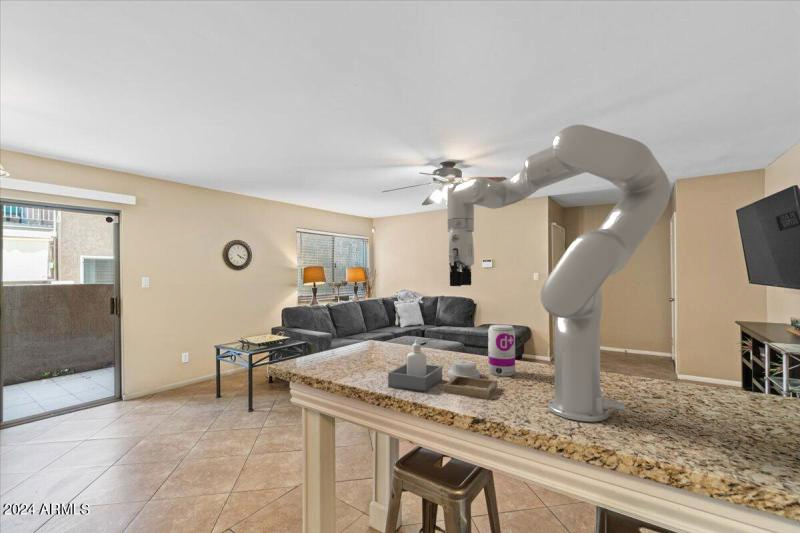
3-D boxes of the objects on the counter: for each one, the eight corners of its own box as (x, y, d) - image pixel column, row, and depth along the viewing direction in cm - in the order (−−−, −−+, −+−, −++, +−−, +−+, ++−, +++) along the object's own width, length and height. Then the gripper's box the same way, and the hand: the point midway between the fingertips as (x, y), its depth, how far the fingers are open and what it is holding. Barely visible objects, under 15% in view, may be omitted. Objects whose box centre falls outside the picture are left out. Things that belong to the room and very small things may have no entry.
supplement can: (518, 376, 112) (518, 328, 112) (491, 376, 112) (491, 327, 112) (510, 369, 120) (510, 324, 120) (485, 369, 120) (485, 324, 120)
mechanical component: (441, 377, 112) (469, 383, 106) (441, 362, 112) (469, 368, 106) (459, 370, 120) (486, 376, 113) (458, 357, 120) (486, 362, 113)
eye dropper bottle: (412, 378, 108) (412, 337, 109) (428, 381, 105) (428, 339, 105) (404, 381, 105) (404, 340, 105) (421, 384, 102) (421, 341, 102)
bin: (442, 379, 108) (442, 366, 109) (425, 392, 97) (425, 377, 97) (408, 375, 114) (408, 362, 114) (388, 386, 102) (388, 372, 102)
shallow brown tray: (497, 388, 101) (497, 380, 101) (489, 399, 92) (489, 391, 92) (455, 382, 106) (455, 375, 106) (444, 392, 97) (444, 384, 97)
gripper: (464, 221, 96) (464, 286, 95) (481, 229, 111) (481, 285, 111) (437, 223, 99) (438, 286, 99) (457, 230, 114) (457, 284, 114)
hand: (460, 285), depth 105 cm, fingers open, 9 cm apart
